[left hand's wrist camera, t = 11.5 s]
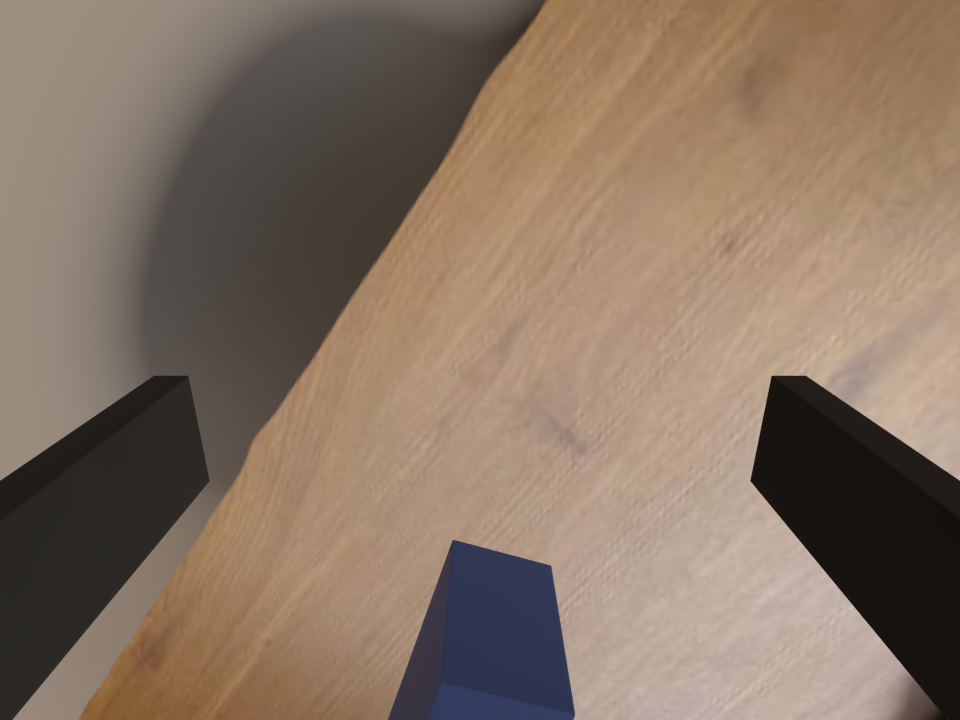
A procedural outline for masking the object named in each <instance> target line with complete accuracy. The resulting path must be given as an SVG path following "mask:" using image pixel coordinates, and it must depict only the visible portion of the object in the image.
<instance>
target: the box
mask: <svg viewBox="0 0 960 720" xmlns="http://www.w3.org/2000/svg"><path fill="white" fill-rule="evenodd" d="M574 717H575V711H574V705H573V698H572V692H571V686H570V680H569V674H568V667H567V661H566V655H565V649H564V643H563V637H562V630H561V624H560V618H559V612H558V606H557V599H556V593H555V587H554V581H553V575H552V568H551V566H550V565H546V564H543V563H539V562H535V561H531V560H527V559H524V558H520V557H516V556H512V555H509V554H505V553H501V552H497V551H493V550H490V549H486V548H482V547H478V546H475V545H471V544H467V543H463V542H460V541H456V540H453V541H452V544H451V546H450V549H449V552H448V555H447V558H446V560H445V563H444V566H443V569H442V571H441V574H440V577H439V580H438V583H437V585H436V588H435V591H434V594H433V596H432V599H431V602H430V605H429V607H428V610H427V613H426V616H425V619H424V621H423V624H422V627H421V630H420V632H419V635H418V638H417V641H416V644H415V646H414V649H413V652H412V655H411V657H410V660H409V663H408V666H407V668H406V671H405V674H404V677H403V680H402V682H401V685H400V688H399V691H398V693H397V696H396V699H395V702H394V705H393V707H392V710H391V713H390V716H389V718H388V720H573V719H574Z"/></svg>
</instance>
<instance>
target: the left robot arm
mask: <svg viewBox="0 0 960 720" xmlns="http://www.w3.org/2000/svg"><path fill="white" fill-rule="evenodd" d="M208 482H209V476H208V471H207V466H206V461H205V456H204V451H203V446H202V441H201V436H200V432H199V427H198V422H197V417H196V412H195V407H194V402H193V397H192V392H191V387H190V382H189V377H188V376H153V377H152V378H150V379H149V380H147V381H146V382H144V383H143V384H142V385H140V386H139V387H137V388H136V389H134V390H133V391H131V392H130V393H128V394H127V395H125V396H124V397H123V398H121V399H119V400H118V401H117V402H115V403H114V404H112V405H111V406H109V407H108V408H106V409H105V410H103V411H102V412H100V413H99V414H97V415H96V416H95V417H93V418H92V419H90V420H89V421H87V422H86V423H84V424H83V425H81V426H80V427H78V428H77V429H76V430H74V431H73V432H71V433H70V434H68V435H67V436H65V437H64V438H62V439H61V440H59V441H58V442H56V443H55V444H54V445H52V446H51V447H49V448H48V449H46V450H45V451H43V452H42V453H40V454H39V455H37V456H36V457H34V458H33V459H32V460H30V461H29V462H27V463H26V464H24V465H23V466H21V467H20V468H18V469H17V470H15V471H14V472H13V473H11V474H10V475H8V476H7V477H5V478H4V479H2V480H1V481H0V720H12V719H13V718H14V717H15V716H16V715H17V713H18V712H19V711H20V710H21V709H22V707H23V706H24V705H25V704H26V703H27V701H28V700H29V699H30V698H31V696H32V695H33V694H34V693H35V692H36V690H37V689H38V688H39V687H40V686H41V684H42V683H43V682H44V681H45V680H46V678H47V677H48V676H49V675H50V674H51V672H52V671H53V670H54V669H55V668H56V666H57V665H58V664H59V663H60V661H61V660H62V659H63V658H64V657H65V655H66V654H67V653H68V652H69V651H70V649H71V648H72V647H73V646H74V645H75V643H76V642H77V641H78V640H79V638H80V637H81V636H82V635H83V634H84V632H85V631H86V630H87V629H88V628H89V626H90V625H91V624H92V623H93V622H94V620H95V619H96V618H97V617H98V615H99V614H100V613H101V612H102V610H103V609H104V608H105V607H106V606H107V605H108V603H109V602H110V601H111V600H112V599H113V597H114V596H115V595H116V594H117V592H118V591H119V590H120V589H121V588H122V586H123V585H124V584H125V583H126V582H127V580H128V579H129V578H130V577H131V576H132V574H133V573H134V572H135V571H136V569H137V568H138V567H139V566H140V565H141V563H142V562H143V561H144V560H145V559H146V557H147V556H148V555H149V554H150V553H151V551H152V550H153V549H154V548H155V546H156V545H157V544H158V543H159V542H160V540H161V539H162V538H163V537H164V536H165V534H166V533H167V532H168V531H169V530H170V528H171V527H172V526H173V525H174V523H175V522H176V521H177V520H178V519H179V517H180V516H181V515H182V514H183V512H184V511H185V510H186V509H187V508H188V506H189V505H190V504H191V503H192V502H193V500H194V499H195V498H196V497H197V496H198V494H199V493H200V492H201V491H202V490H203V488H204V487H205V486H206V485H207V484H208ZM751 482H752V484H753V485H754V486H755V487H756V488H757V490H758V491H759V492H760V493H761V494H762V496H763V497H764V498H765V499H766V500H767V502H768V503H769V504H770V505H771V507H772V508H773V509H774V510H775V511H776V513H777V514H778V515H779V516H780V517H781V519H782V520H783V521H784V522H785V523H786V525H787V526H788V527H789V528H790V530H791V531H792V532H793V533H794V534H795V536H796V537H797V538H798V539H799V540H800V542H801V543H802V544H803V545H804V546H805V548H806V549H807V550H808V551H809V553H810V554H811V555H812V556H813V557H814V559H815V560H816V561H817V562H818V563H819V565H820V566H821V567H822V568H823V569H824V571H825V572H826V573H827V574H828V576H829V577H830V578H831V579H832V580H833V582H834V583H835V584H836V585H837V586H838V588H839V589H840V590H841V591H842V592H843V594H844V595H845V596H846V597H847V599H848V600H849V601H850V602H851V603H852V605H853V606H854V607H855V608H856V609H857V611H858V612H859V613H860V614H861V615H862V617H863V618H864V619H865V620H866V622H867V623H868V624H869V625H870V626H871V628H872V629H873V630H874V631H875V632H876V634H877V635H878V636H879V637H880V638H881V640H882V641H883V642H884V643H885V645H886V646H887V647H888V648H889V649H890V651H891V652H892V653H893V654H894V655H895V657H896V658H897V659H898V660H899V661H900V663H901V664H902V665H903V666H904V668H905V669H906V670H907V671H908V672H909V674H910V675H911V676H912V677H913V678H914V680H915V681H916V682H917V683H918V684H919V686H920V687H921V688H922V689H923V691H924V692H925V693H926V694H927V695H928V697H929V698H930V699H931V700H932V701H933V703H934V704H935V705H936V706H937V707H938V709H939V710H940V711H941V712H942V714H943V715H944V716H945V717H946V718H947V720H960V481H959V480H958V479H956V478H955V477H953V476H952V475H950V474H949V473H948V472H946V471H945V470H943V469H942V468H940V467H939V466H937V465H936V464H934V463H933V462H931V461H930V460H928V459H927V458H926V457H924V456H923V455H921V454H920V453H918V452H917V451H915V450H914V449H912V448H911V447H909V446H908V445H906V444H905V443H904V442H902V441H901V440H899V439H898V438H896V437H895V436H893V435H892V434H890V433H889V432H887V431H886V430H884V429H883V428H882V427H880V426H879V425H877V424H876V423H874V422H873V421H871V420H870V419H868V418H867V417H865V416H864V415H863V414H861V413H860V412H858V411H857V410H855V409H854V408H852V407H851V406H849V405H848V404H846V403H845V402H843V401H842V400H841V399H839V398H838V397H836V396H835V395H833V394H832V393H830V392H829V391H827V390H826V389H824V388H823V387H821V386H820V385H819V384H817V383H816V382H814V381H813V380H811V379H810V378H808V377H807V376H772V377H771V382H770V387H769V392H768V397H767V402H766V407H765V412H764V417H763V422H762V427H761V431H760V436H759V441H758V446H757V451H756V456H755V461H754V466H753V471H752V476H751Z"/></svg>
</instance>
